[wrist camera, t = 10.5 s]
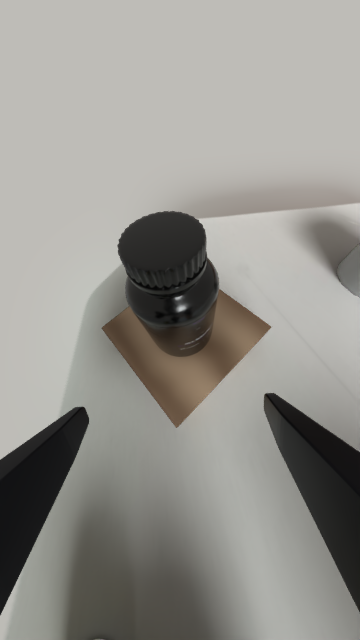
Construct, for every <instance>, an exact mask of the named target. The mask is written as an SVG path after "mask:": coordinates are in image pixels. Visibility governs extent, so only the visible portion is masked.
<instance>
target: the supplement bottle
mask: <svg viewBox="0 0 360 640" xmlns="http://www.w3.org/2000/svg"><path fill="white" fill-rule="evenodd" d="M118 254H119V256H120V259H121V261H122V263H123V265H124V267H125V269H126V273H127V275H128V277H127V280H126V287H125V293H126V298H127V302H128V304H129V306H130V308H131V309H132V311H133V313H134V314H135V315H136V317H137V318H138V320H139V321H140V323H141V324H142V325H143V327H144V328H145V330H146V331H147V332H148V334H149V335H150V337H151V338H152V339H153V341H154V342H155V344H156V345H157V346H158V347H159V348H160V349H161V350H162V351H163V352H165V353H167V354H169V355H171V356H175V357H187V356H191V355H194V354H196V353H198V352H199V351H201V350H202V349H203V348H204V347H205V346H206V345H207V343H208V342H209V340H210V337H211V334H212V330H213V324H214V317H215V311H216V305H217V298H218V292H219V278H218V273H217V271H216V269H215V267H214V265H213V264H212V262H211V261H210V260H209V259H208V258H207V252H206V233H205V229H204V228H203V225H202V224H201V223H199V220H197V219H195V218H194V217H193V216H190V215H188V214H185V213H182V212H175V211H170V212H168V211H164V212H157V213H155V214H149V215H148V216H144V217H142V218H141V219H138V220H136V221H135V222H134V223H132V224H130V225H129V227H128V228H126V229H125V231H124V233H122V234H121V238H120V239H119V244H118Z"/></svg>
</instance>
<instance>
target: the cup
mask: <svg viewBox="0 0 360 640" xmlns="http://www.w3.org/2000/svg"><path fill="white" fill-rule="evenodd" d="M337 275H338V277H339V279H340V282H341V284H342V285H343V286H344V287H345V288H346V289H348V290H349V291H350V292H351V293H352V294H353V295H356V296H358V297H360V243H359V244H358V245H357V246H356V247H355V248H354V249H353V250H352V251H351V252H350V253H349V254H348V255H347V257H346V258H345V259H344V260H343V261H342V262H341V263H340V264H339V266H338V270H337Z"/></svg>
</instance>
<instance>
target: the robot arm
mask: <svg viewBox="0 0 360 640" xmlns="http://www.w3.org/2000/svg"><path fill="white" fill-rule="evenodd" d="M264 411H265V414H266V417H267V419H268V422H269V424H270V427H271V430H272V432H273V435H274V438H275V440H276V443H277V445H278V448H279V450H280V452H281V454H282V456H283V458H284V460H285V462H286V464H287V466H288V468H289V470H290V472H291V474H292V476H293V478H294V480H295V483H296V485H297V487H298V489H299V491H300V493H301V495H302V497H303V499H304V501H305V503H306V505H307V507H308V509H309V511H310V513H311V515H312V517H313V519H314V521H315V523H316V525H317V527H318V529H319V531H320V533H321V535H322V537H323V539H324V541H325V543H326V545H327V547H328V549H329V551H330V553H331V555H332V557H333V559H334V561H335V563H336V565H337V567H338V570H339V572H340V574H341V576H342V578H343V580H344V582H345V584H346V586H347V588H348V590H349V592H350V594H351V596H352V598H353V600H354V602H355V604H356V606H357V608H358V610H359V612H360V452H359V451H357V450H356V449H354V448H353V447H352V446H350V445H349V444H347V443H346V442H344V441H343V440H341V439H340V438H338V437H337V436H336V435H334V434H333V433H331V432H330V431H328V430H327V429H325V428H324V427H323V426H321V425H320V424H318V423H317V422H315V421H314V420H312V419H311V418H309V417H308V416H307V415H305V414H304V413H302V412H301V411H299V410H298V409H296V408H295V407H294V406H292V405H291V404H289V403H288V402H286V401H285V400H283V399H282V398H280V397H279V396H278V395H276V394H274V393H266V394H265V395H264ZM88 424H89V417H88V415H87V412H86V409H85V408H84V407H75V408H73V409H72V410H71V411H69V412H68V413H66V414H65V415H64V416H62V417H61V418H59V419H58V420H56V421H55V422H54V423H52V424H51V425H49V426H48V427H47V428H45V429H44V430H42V431H41V432H39V433H38V434H36V435H35V436H34V437H32V438H31V439H30V440H28V441H27V442H25V443H24V444H22V445H21V446H19V447H18V448H17V449H15V450H14V451H12V452H11V453H9V454H8V455H6V456H5V457H4V458H2V459H1V460H0V615H1V613H2V611H3V609H4V607H5V604H6V602H7V600H8V598H9V596H10V594H11V592H12V590H13V588H14V586H15V584H16V581H17V579H18V577H19V575H20V573H21V571H22V569H23V567H24V565H25V563H26V560H27V558H28V556H29V554H30V552H31V550H32V548H33V546H34V544H35V542H36V540H37V537H38V535H39V533H40V531H41V529H42V527H43V525H44V523H45V521H46V519H47V516H48V514H49V512H50V510H51V508H52V506H53V504H54V502H55V500H56V498H57V496H58V493H59V491H60V489H61V487H62V485H63V483H64V481H65V479H66V477H67V475H68V472H69V470H70V468H71V466H72V464H73V462H74V460H75V457H76V455H77V453H78V450H79V447H80V445H81V442H82V440H83V437H84V434H85V432H86V429H87V427H88Z"/></svg>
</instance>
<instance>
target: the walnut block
mask: <svg viewBox="0 0 360 640" xmlns="http://www.w3.org/2000/svg"><path fill="white" fill-rule="evenodd" d="M270 328H271V326H270V325H268V324H267V323H266V322H264V321H263V320H261V319H260V318H259V317H257V316H256V315H254V314H253V313H252V312H250V311H249V310H248V309H246V308H245V307H243V306H242V305H241V304H239V303H238V302H237V301H235V300H234V299H232V298H231V297H230V296H228V295H227V294H225V293H224V292H223V291H221V290H220V289H219V292H218V298H217V305H216V311H215V317H214V324H213V330H212V334H211V337H210V340H209V342H208V343H207V345H206V346H205V347H204V348H203V349H202V350H201V351H199V352H198V353H196V354H194V355H191V356H187V357H175V356H171V355H169V354H167V353H165V352H163V351H162V350H161V349H160V348H159V347H158V346H157V345H156V344H155V342H154V341H153V339H152V338H151V337H150V335H149V334H148V332H147V331H146V330H145V328H144V327H143V325H142V324H141V323H140V321H139V320H138V318H137V317H136V315H135V314H134V313H133V311H132V309H131V308H130V306H129V307H128V308H126V309H125V310H124V311H123V312H121V313H120V314H119V315H117V316H116V317H115V318H114V319H112V320H111V321H110V322H108V323H107V324H106V325H105V326H103V327H102V329H103V331H104V332H105V333H106V335H107V336H108V337H109V339H110V340H111V341H112V343H113V344H114V345H115V347H116V348H117V349H118V351H119V352H120V353H121V355H122V356H123V357H124V359H125V360H126V361H127V363H128V364H129V365H130V367H131V368H132V369H133V371H134V372H135V373H136V375H137V376H138V377H139V379H140V380H141V381H142V383H143V384H144V385H145V387H146V388H147V389H148V391H149V392H150V393H151V395H152V396H153V397H154V399H155V400H156V401H157V403H158V404H159V405H160V407H161V408H162V409H163V411H164V412H165V413H166V415H167V416H168V417H169V419H170V420H171V421H172V423H173V424H174V425H175V427H176V428H177V427H178V426H179V425H180V424H181V423H182V422H183V421H184V420H185V419H186V418H187V417H188V416H189V415H190V414H191V412H192V411H193V410H194V409H195V408H196V407H197V406H198V405H199V404H200V403H201V402H202V401H203V400H204V399H205V398H206V397H207V395H208V394H209V393H210V392H211V391H212V390H213V389H214V388H215V387H216V386H217V385H218V384H219V383H220V382H221V381H222V379H223V378H224V377H225V376H226V375H227V374H228V373H229V372H230V371H231V370H232V369H233V368H234V367H235V366H236V365H237V364H238V362H239V361H240V360H241V359H242V358H243V357H244V356H245V355H246V354H247V353H248V352H249V351H250V350H251V349H252V348H253V346H254V345H255V344H256V343H257V342H258V341H259V340H260V339H261V338H262V337H263V336H264V335H265V334H266V332H267V331H268V330H269V329H270Z"/></svg>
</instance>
